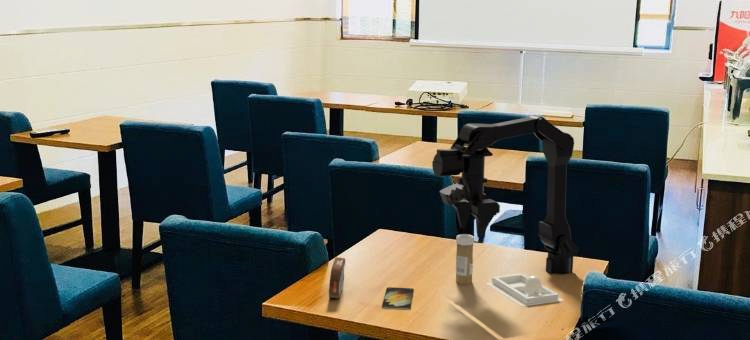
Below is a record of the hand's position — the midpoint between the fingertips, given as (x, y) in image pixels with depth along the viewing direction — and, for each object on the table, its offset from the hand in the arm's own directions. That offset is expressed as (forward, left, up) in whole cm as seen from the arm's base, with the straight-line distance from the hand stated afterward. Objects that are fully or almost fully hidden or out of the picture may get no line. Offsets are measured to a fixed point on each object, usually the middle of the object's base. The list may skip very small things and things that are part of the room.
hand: (471, 232), depth 220 cm
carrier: (-10, +11, -15) cm, 21 cm away
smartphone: (+21, +2, -15) cm, 26 cm away
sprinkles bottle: (+1, -1, -15) cm, 15 cm away
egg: (-10, +15, -13) cm, 22 cm away
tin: (+34, -7, -15) cm, 38 cm away
